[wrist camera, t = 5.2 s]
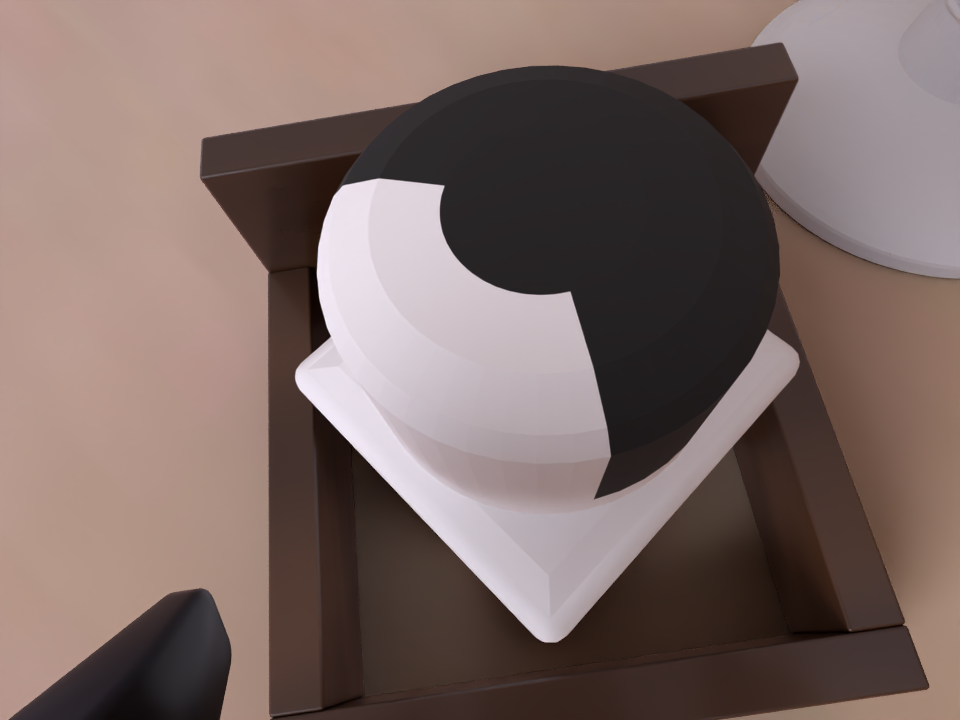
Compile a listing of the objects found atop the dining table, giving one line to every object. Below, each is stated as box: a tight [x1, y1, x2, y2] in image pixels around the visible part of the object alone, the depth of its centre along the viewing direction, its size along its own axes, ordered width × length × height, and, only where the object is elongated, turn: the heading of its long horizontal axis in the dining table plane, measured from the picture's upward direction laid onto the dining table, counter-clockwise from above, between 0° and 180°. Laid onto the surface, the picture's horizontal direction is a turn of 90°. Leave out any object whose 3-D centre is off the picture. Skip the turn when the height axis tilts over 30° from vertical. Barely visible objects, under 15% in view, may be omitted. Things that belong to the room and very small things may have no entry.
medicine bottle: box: [295, 66, 800, 642], centre depth 13 cm, size 7×7×12 cm
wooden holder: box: [200, 42, 929, 720], centre depth 15 cm, size 13×13×8 cm
